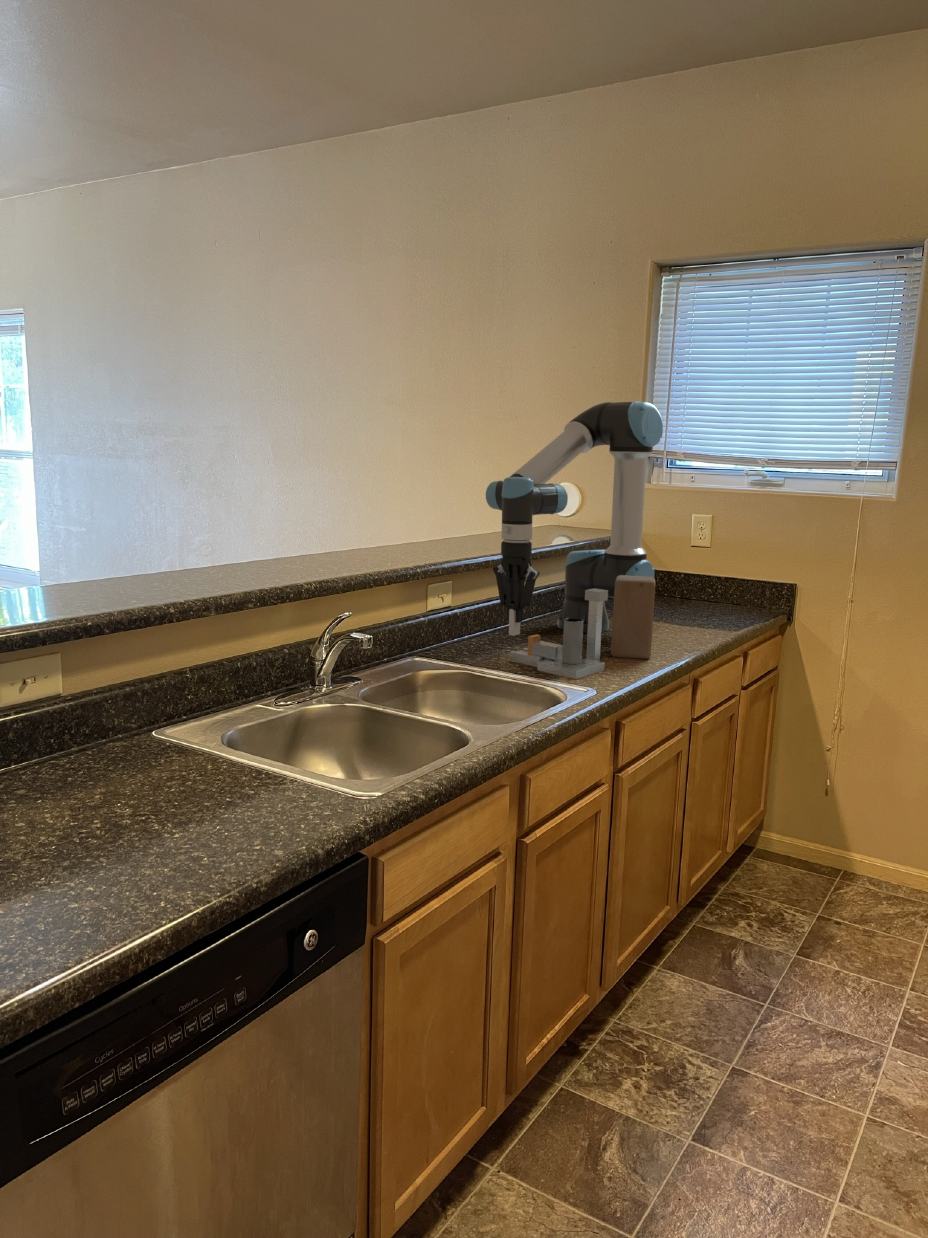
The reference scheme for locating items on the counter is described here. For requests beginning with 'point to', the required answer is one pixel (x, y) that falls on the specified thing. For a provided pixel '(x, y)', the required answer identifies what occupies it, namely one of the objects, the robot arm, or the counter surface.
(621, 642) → the wooden block
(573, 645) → the grey hollow tube
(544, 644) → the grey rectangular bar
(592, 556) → the robot arm
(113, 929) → the counter surface
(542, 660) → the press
